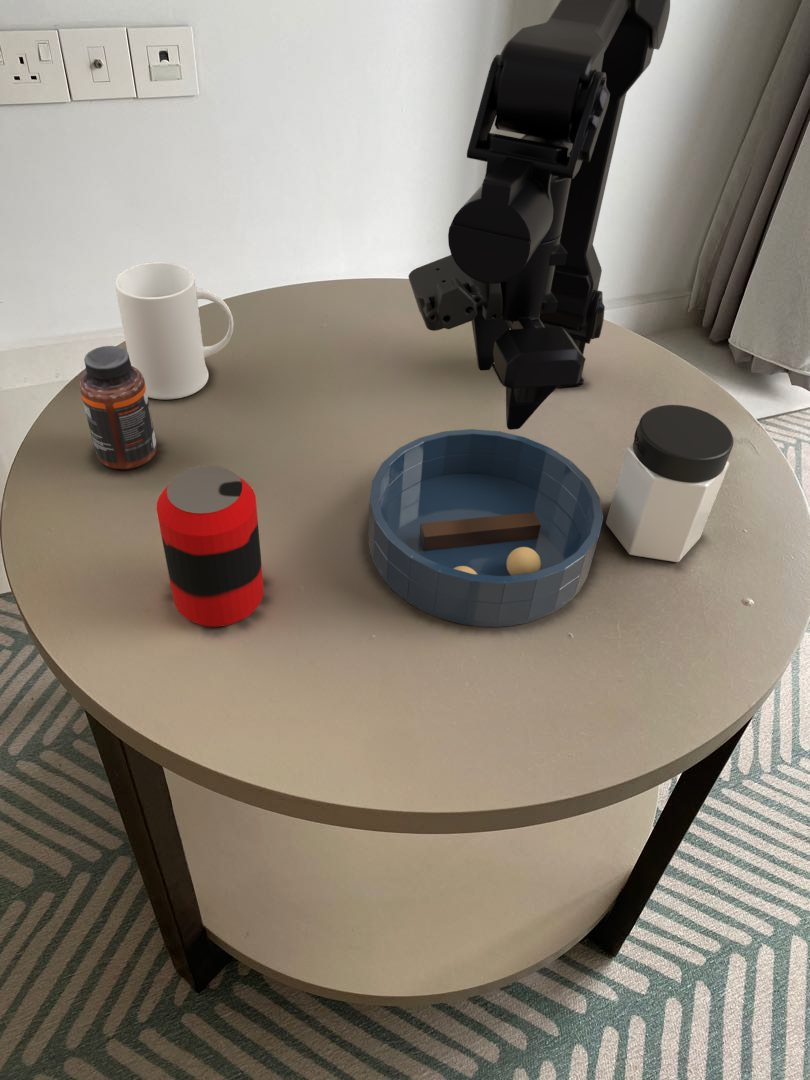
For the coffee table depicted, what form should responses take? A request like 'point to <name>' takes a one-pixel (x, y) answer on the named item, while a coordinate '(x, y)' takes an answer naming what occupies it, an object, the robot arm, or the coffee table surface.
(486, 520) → the stick
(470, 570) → the cork ball
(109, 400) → the supplement bottle
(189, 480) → the soda can
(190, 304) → the mug
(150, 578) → the coffee table surface
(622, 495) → the jar
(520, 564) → the cork ball
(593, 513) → the bowl
